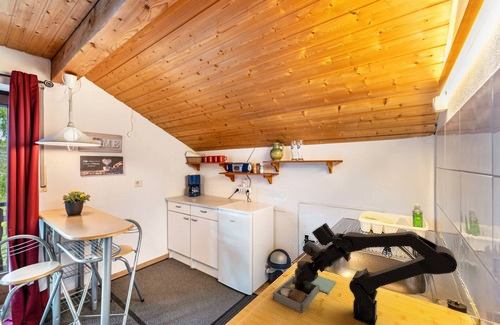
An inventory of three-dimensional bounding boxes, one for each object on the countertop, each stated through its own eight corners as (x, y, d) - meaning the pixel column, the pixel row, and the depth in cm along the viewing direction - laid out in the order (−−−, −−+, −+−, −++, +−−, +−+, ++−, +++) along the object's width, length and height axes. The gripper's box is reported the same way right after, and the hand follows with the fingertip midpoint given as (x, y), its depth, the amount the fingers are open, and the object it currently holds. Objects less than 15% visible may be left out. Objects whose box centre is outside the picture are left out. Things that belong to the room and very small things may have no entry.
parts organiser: (319, 291, 91) (319, 285, 91) (302, 312, 78) (302, 305, 78) (292, 281, 98) (292, 275, 98) (272, 299, 85) (273, 292, 85)
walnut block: (304, 303, 83) (305, 292, 83) (300, 308, 80) (300, 297, 80) (295, 299, 86) (295, 288, 86) (290, 304, 83) (290, 293, 83)
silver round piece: (292, 298, 86) (292, 290, 86) (287, 303, 83) (288, 295, 83) (283, 294, 89) (283, 286, 89) (278, 298, 86) (278, 291, 86)
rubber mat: (336, 282, 98) (336, 281, 98) (328, 294, 89) (328, 292, 89) (312, 274, 105) (312, 273, 105) (302, 284, 96) (302, 283, 96)
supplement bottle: (309, 288, 93) (310, 259, 93) (312, 298, 86) (313, 267, 86) (293, 287, 94) (294, 258, 94) (295, 296, 87) (295, 266, 87)
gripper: (323, 231, 95) (299, 250, 101) (306, 243, 80) (278, 264, 87) (342, 255, 90) (315, 273, 97) (327, 272, 75) (296, 292, 82)
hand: (301, 274), depth 91 cm, fingers open, 9 cm apart
